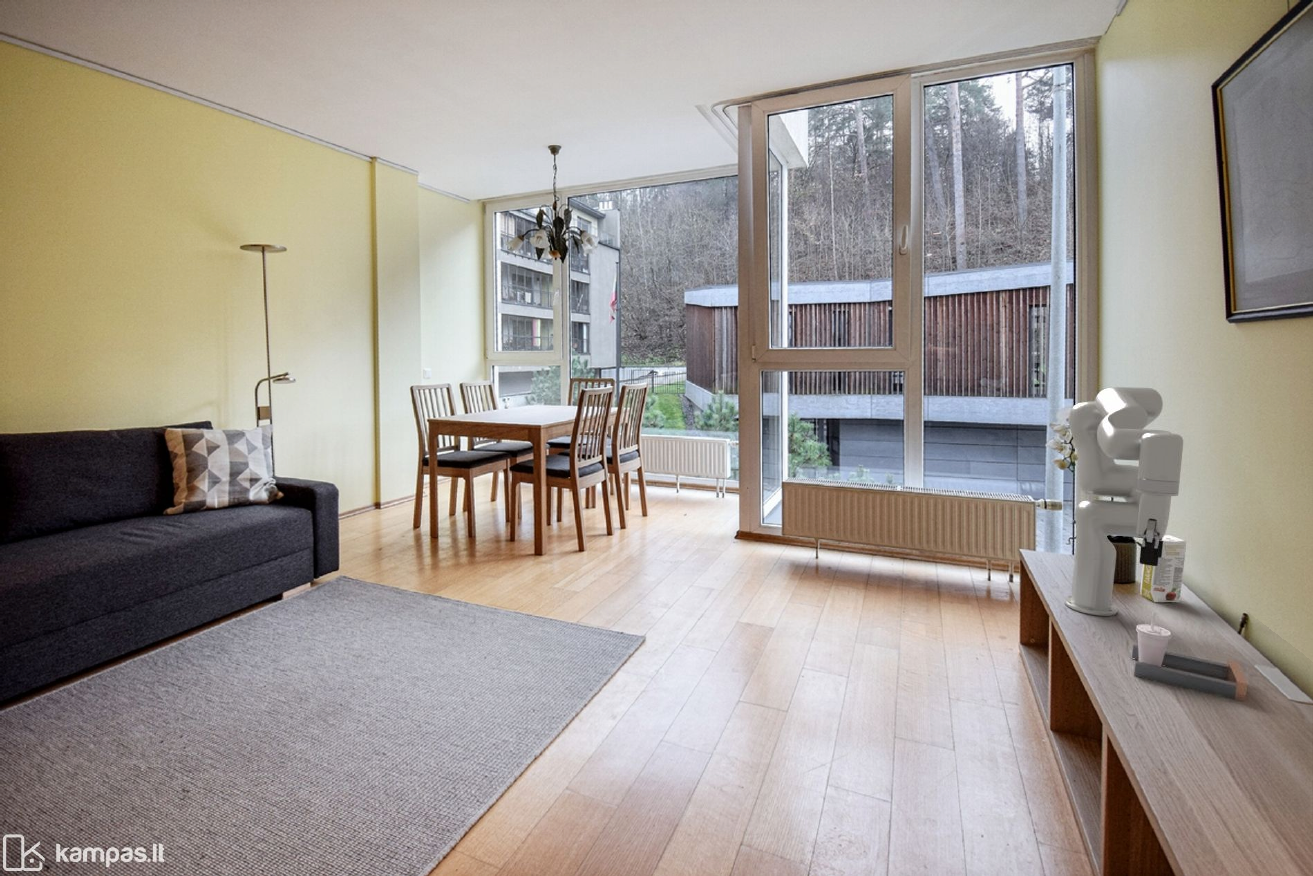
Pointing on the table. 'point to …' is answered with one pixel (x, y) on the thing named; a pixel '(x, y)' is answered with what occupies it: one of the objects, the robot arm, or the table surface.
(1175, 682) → the grey frame
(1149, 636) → the smoothie
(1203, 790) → the table surface
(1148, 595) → the juice carton
